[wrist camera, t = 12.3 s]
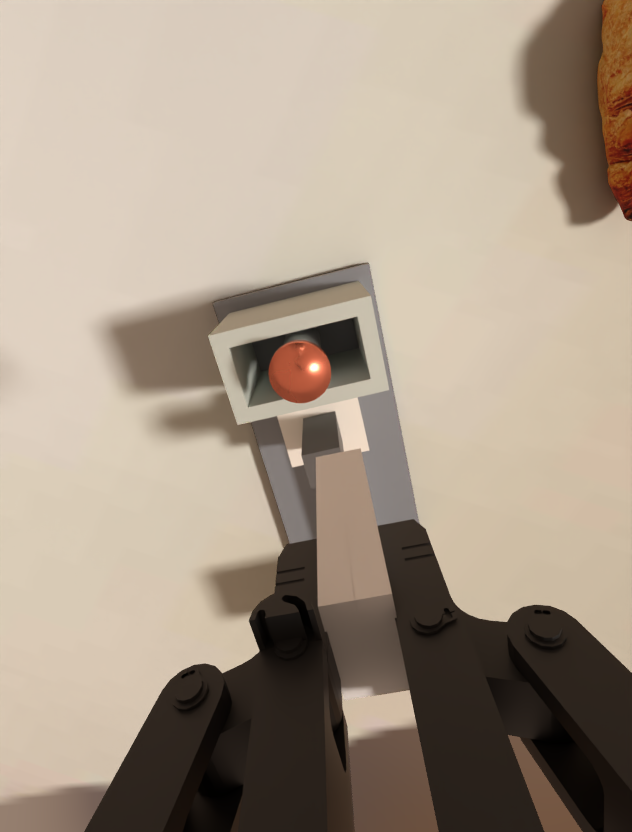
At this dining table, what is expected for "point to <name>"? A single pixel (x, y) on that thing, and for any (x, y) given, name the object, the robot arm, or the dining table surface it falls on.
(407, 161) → the dining table surface
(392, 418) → the rail fixture
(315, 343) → the ball
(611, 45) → the croissant
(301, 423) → the block
